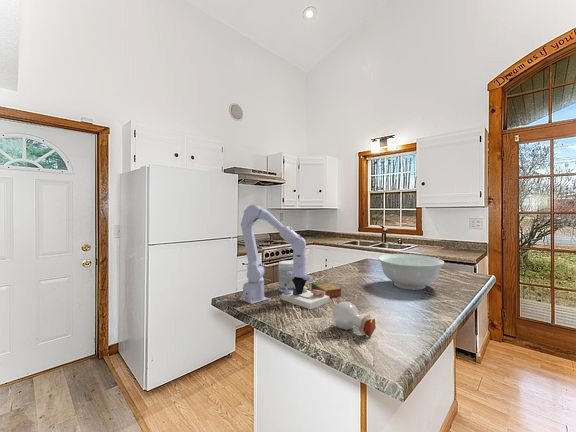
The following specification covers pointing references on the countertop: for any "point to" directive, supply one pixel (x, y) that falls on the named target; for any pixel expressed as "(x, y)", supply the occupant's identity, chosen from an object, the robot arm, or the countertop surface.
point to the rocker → (318, 292)
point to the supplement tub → (285, 276)
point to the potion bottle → (352, 318)
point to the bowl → (411, 270)
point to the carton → (327, 288)
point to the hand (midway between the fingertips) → (299, 294)
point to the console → (306, 299)
